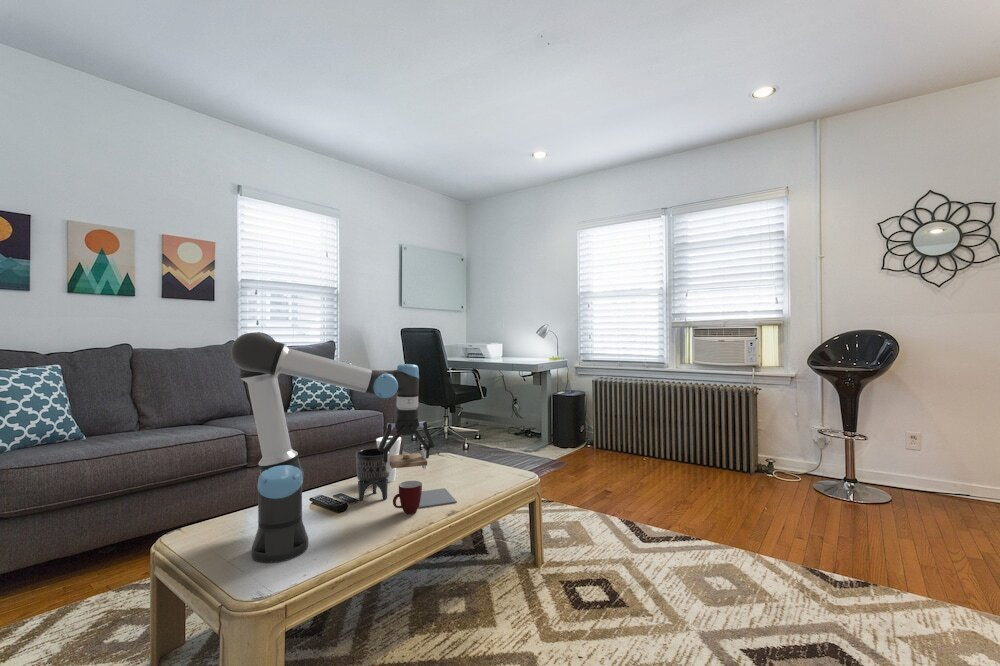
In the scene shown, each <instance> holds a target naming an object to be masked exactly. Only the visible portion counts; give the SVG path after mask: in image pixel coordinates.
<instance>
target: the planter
mask: <svg viewBox="0 0 1000 666" xmlns="http://www.w3.org/2000/svg"><path fill="white" fill-rule="evenodd" d="M389 452H390V450H389ZM355 462H356V463H355V464H356V465H355V466H356V478H357V479H358V481H357V488H358V501H359V502H360V503H361V502H364V497H365V494H366V491H367V489H368V487H370V486H371V485H372V486H371V487H372V495H374V494H377V487H378V488H379V490H380V491H381V497H382V500H384V501H386V500H388V487H389V486H388V483H389V482H388V479H387V478H388V477H389V474H390V472H387V471H386V462H384V460H383V452H380V451H379V450H378V448H377V447H372V448H364V449H361V450H359V451H356V452H355Z"/></svg>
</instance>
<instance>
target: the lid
mask: <svg viewBox="0 0 1000 666" xmlns="http://www.w3.org/2000/svg"><path fill="white" fill-rule="evenodd" d="M425 465H426V466H428V460H427V459H425V458H424V457H423V456H422V453H420V452H416V453H403V454H399V455H390V466H391V468H392V469H393V468H397V469H401V468H403V469H404V468H413V467H422V466H425Z"/></svg>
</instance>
